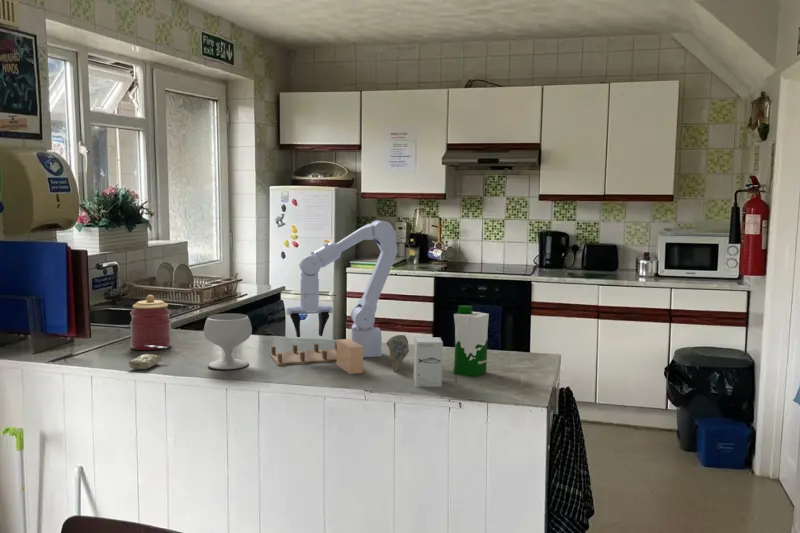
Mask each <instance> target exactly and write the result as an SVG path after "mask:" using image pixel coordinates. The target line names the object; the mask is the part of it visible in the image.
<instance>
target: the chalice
mask: <svg viewBox="0 0 800 533" xmlns="http://www.w3.org/2000/svg"><path fill="white" fill-rule="evenodd" d="M252 331H253V327H252V323H251V320H250V318H249V316H248V315H247V314H244V313H233V312H232V313H217V314H212V315H209V316H207V317H206V320H205V323H204V328H203V335H204V338H205V339H206V340H207V341H209V342H210V343H212V344H214V345H216V346H217V347H220V348H221V349H222V350H223V352H224V354H225V355H224V358H222V359H219V360H218V359H217V360H214V361H211V362H209V363H207V367H208V368H211V369H215V370H235V369H241V368H242V369H243V368H245V367H247V366H249V364H250V363H249V362H248V361H247V360H244V359H240V358H239V359H237V358H233V356H232V352H233V351H234V349H235V348H236V347H238V346H239V345H240V344H243V343H244V342H246V341H247V340H248V339H250V337H251V336H252V333H253V332H252Z"/></svg>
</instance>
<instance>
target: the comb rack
mask: <svg viewBox="0 0 800 533" xmlns="http://www.w3.org/2000/svg"><path fill="white" fill-rule="evenodd" d="M270 347H271V350H270V351H271V352H269V355H268V356H269V357H270V359H271V360H272V361H273V362H274V363H275V364H276V366H278V367H282V366H283V365H285V366H294V365H297V366H298V365H310V364H318V363H319V364H321V363H322V364H323V363H334V362H337V341H335V342H334V348H327V349H324V348H323V349H319V343H317V342H316V343H315V342H314V343H313V349H312V350H311V349H309V350H308V349H307V350H298V344H295V343H294V344H292V351H278V352H277V351H276V347H277V346H275V345H271V346H270Z"/></svg>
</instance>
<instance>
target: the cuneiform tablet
mask: <svg viewBox="0 0 800 533" xmlns="http://www.w3.org/2000/svg"><path fill="white" fill-rule="evenodd" d="M145 347H155V348H163V349H168V348H169V347H162V346H152V345H145ZM161 361H162V355H157V354H150V353H143V354H141V355H139V356H137V357H135V358H133V359H132V360H129V361H128V365H129V366H128V367H129V368H131V369H134V370H147V369H150V368H151V367H152V368H153V367H154V366H156V365H157V364H159V363H160V362H161Z"/></svg>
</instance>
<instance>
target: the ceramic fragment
mask: <svg viewBox="0 0 800 533" xmlns="http://www.w3.org/2000/svg"><path fill="white" fill-rule="evenodd" d="M385 344H386V345H387V347H388V350H389V356H390V359H391V368H392V370H393V372H395V373H396V372H397V373H398V371H399V369H400V368H399V367H400V366H401V365H402V364H403V361H404V360H405V357H406V356H408V354H409V352H410V349H409V340H408V337H407V336H406V335H404V334H397V335H394V336H391V337H390V338H388V340H387V341H386V343H385Z"/></svg>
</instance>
